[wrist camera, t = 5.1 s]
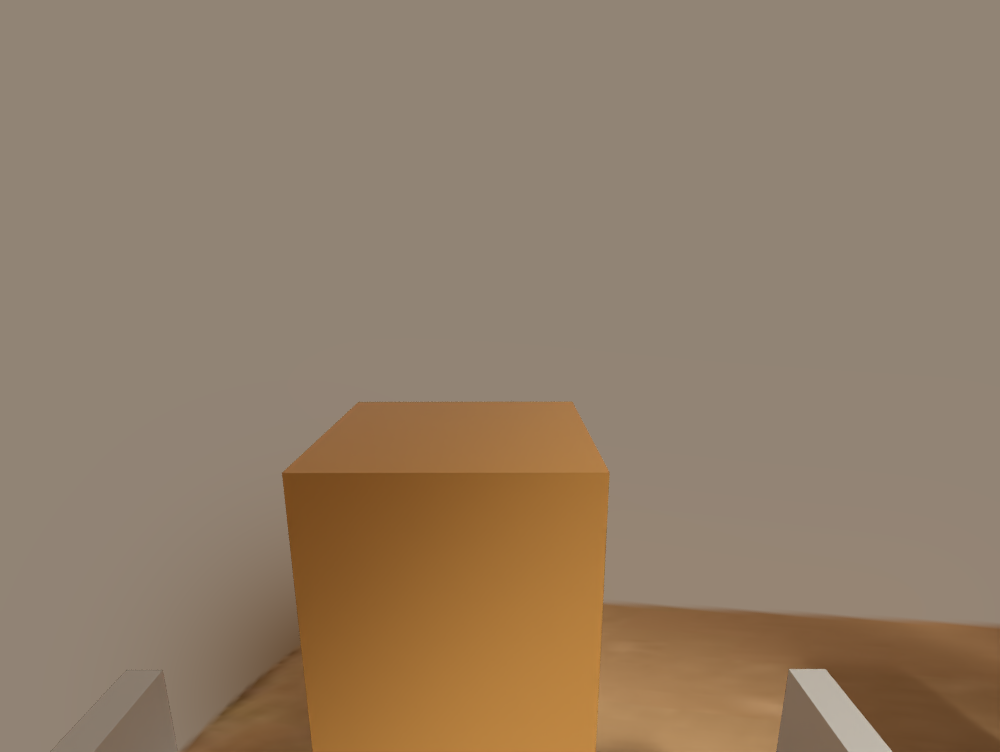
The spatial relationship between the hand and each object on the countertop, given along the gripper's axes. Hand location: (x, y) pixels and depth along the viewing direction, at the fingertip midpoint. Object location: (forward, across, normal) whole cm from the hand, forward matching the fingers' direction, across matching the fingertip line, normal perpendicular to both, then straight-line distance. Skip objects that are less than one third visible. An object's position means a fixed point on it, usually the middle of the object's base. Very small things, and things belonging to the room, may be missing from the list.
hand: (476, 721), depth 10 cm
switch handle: (-3, 0, -9) cm, 10 cm away
